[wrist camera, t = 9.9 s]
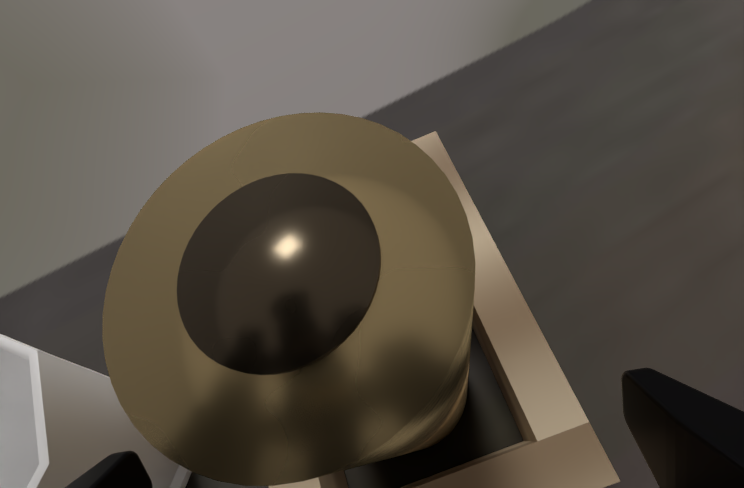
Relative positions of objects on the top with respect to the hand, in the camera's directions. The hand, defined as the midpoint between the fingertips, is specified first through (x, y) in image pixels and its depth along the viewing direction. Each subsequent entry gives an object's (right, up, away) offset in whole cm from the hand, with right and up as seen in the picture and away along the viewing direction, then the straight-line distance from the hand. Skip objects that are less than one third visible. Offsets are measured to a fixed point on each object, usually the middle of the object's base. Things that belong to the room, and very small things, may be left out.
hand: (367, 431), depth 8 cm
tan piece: (+1, -2, +8) cm, 9 cm away
